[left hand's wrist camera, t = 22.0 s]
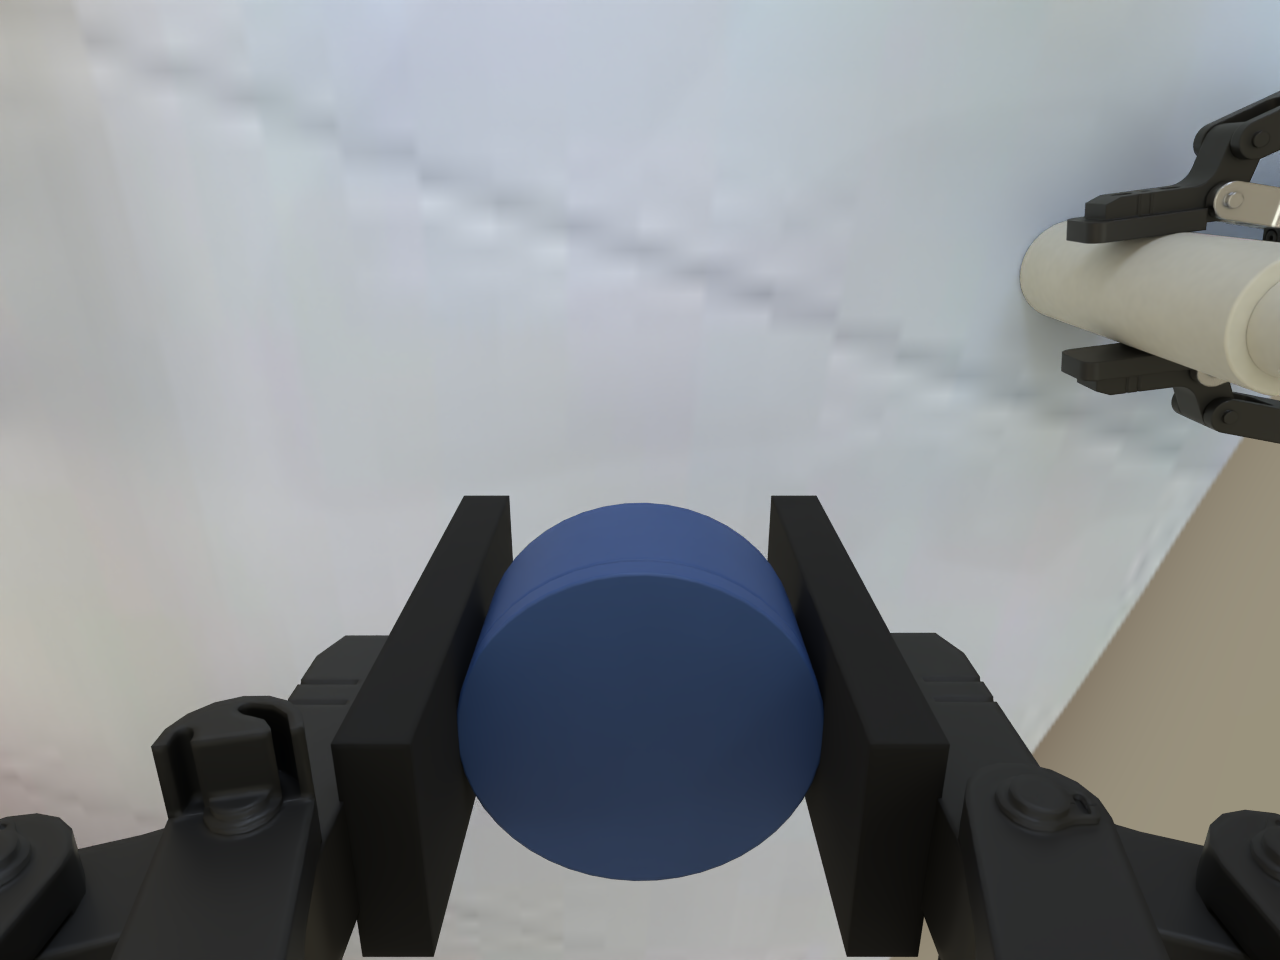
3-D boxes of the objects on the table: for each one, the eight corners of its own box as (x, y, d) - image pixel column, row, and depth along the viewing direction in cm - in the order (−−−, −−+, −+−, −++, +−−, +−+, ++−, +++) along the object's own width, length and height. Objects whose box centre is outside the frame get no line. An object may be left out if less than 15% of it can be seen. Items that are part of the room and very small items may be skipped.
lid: (765, 470, 11) (792, 536, 9) (816, 740, 13) (850, 849, 11) (446, 539, 12) (405, 616, 10) (532, 793, 13) (513, 908, 11)
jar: (1057, 337, 37) (1328, 446, 22) (999, 271, 36) (1242, 340, 21) (1136, 267, 36) (1472, 334, 21) (1078, 197, 35) (1388, 219, 20)
